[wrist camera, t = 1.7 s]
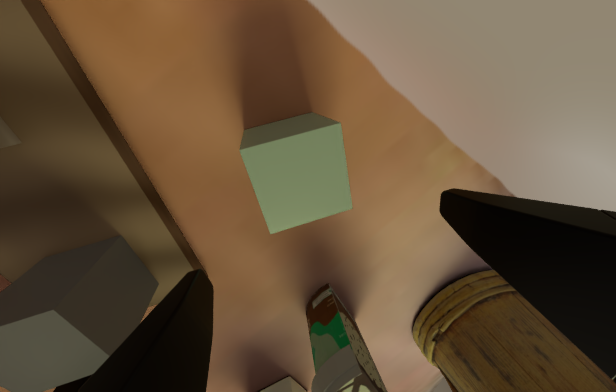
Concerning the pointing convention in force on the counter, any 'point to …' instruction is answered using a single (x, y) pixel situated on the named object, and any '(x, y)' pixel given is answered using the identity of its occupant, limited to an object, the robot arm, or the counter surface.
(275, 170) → the sage cap
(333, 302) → the food container
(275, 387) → the milk carton
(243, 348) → the counter surface
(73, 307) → the gray block
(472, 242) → the robot arm
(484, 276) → the tankard
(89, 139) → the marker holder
